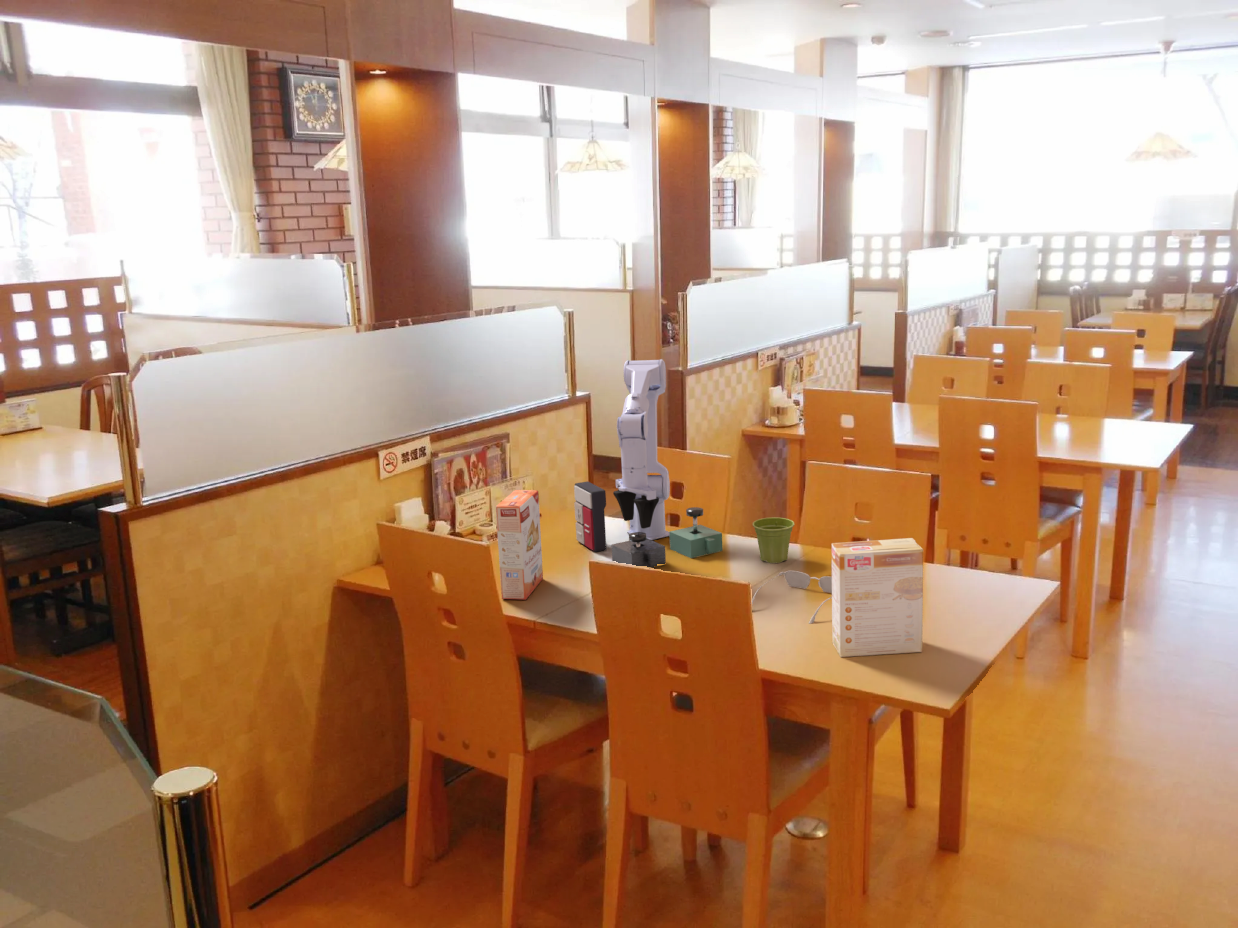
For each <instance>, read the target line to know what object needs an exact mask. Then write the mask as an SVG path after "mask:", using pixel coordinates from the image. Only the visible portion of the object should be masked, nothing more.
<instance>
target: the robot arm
mask: <svg viewBox="0 0 1238 928" xmlns="http://www.w3.org/2000/svg"><path fill="white" fill-rule="evenodd" d="M666 371H667V370H666V362H665V361H664V359H663V358H660V359H648V360H647V359H644V360H642V359H641V360H629V359H627V360H626V361H625V362H624V365H623V382H624V384H625V386H626V389H627V390H628V393H629V394H628V395H627V396H626V397H625V398H624V403H623V408H622V413H621V416H618V417H617V420H616V432H617V437H618V445H619V446H618V447H619V448H620V455H621V456H620V459H621V460H620V461H621V476H622V477H621V478H617V479H615V488H616V489H617V490H614V491H613V492H612V493H613V496H614V497H615V499H616V501H617V503H618V505H619V508H620V512H621V515H622V518H623V521H624V522H627V521H628V522H629V530H626V533H627V534H628V535H629V534H630V533H633V532H644V533H646V538H648V539H650V540H652V541H654V540H658V539H661V538H665V537H670V535H669V532H670V531H668V530H666V517H665V515H666V513H665V511H666V509H665V501H666V500H668V499H669V497H670V492H671V491H670V489H671V488H670V487H671V486H670V485H671V484H670V483H671V482H670V475H669V470H668V468H667V467H666V466H665V465H663V464H662V463H661V462H659V461H658V400H659V396H661V395H662V394H664V393H666V388H667V378H666V377H667V372H666Z"/></svg>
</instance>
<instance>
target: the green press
mask: <svg viewBox="0 0 1238 928" xmlns="http://www.w3.org/2000/svg"><path fill="white" fill-rule="evenodd" d="M697 528H698V534H693V525H692V526H687V527H685V528H680V529H676V530H671V531H670V530H669V531H668V532H669V535H670V536H669V549H670V550H671V551H674V552H675V551H676V552H675V553H678V554H680V555H682V556H684V557H687V558H689V559H694V558H699V557H703V556H706V555H707V556H708V555H710V554H715V553H719V552H723V550H724V549H723V533H722V532H721V531H718V530H715V529H713V528H710V527H708V526H705V525H702V524H697Z"/></svg>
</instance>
